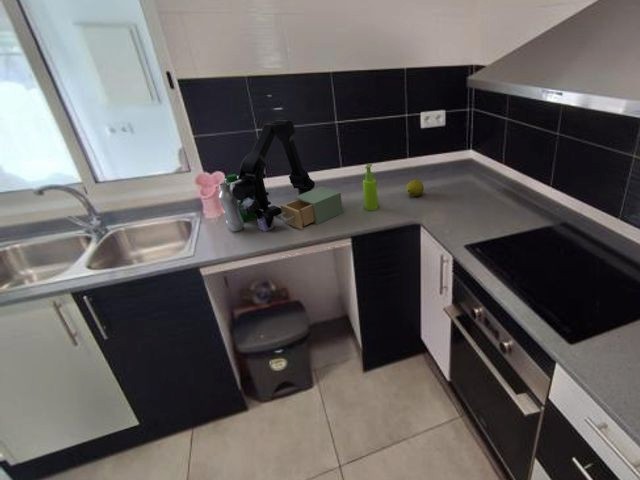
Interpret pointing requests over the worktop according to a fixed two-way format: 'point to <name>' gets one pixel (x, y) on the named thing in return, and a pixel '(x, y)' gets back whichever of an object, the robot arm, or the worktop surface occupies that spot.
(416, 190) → the lemon
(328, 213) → the green drawer box
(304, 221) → the drawer
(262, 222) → the purple cube
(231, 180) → the milk carton
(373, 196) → the soap dispenser
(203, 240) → the worktop surface
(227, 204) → the plastic bottle
